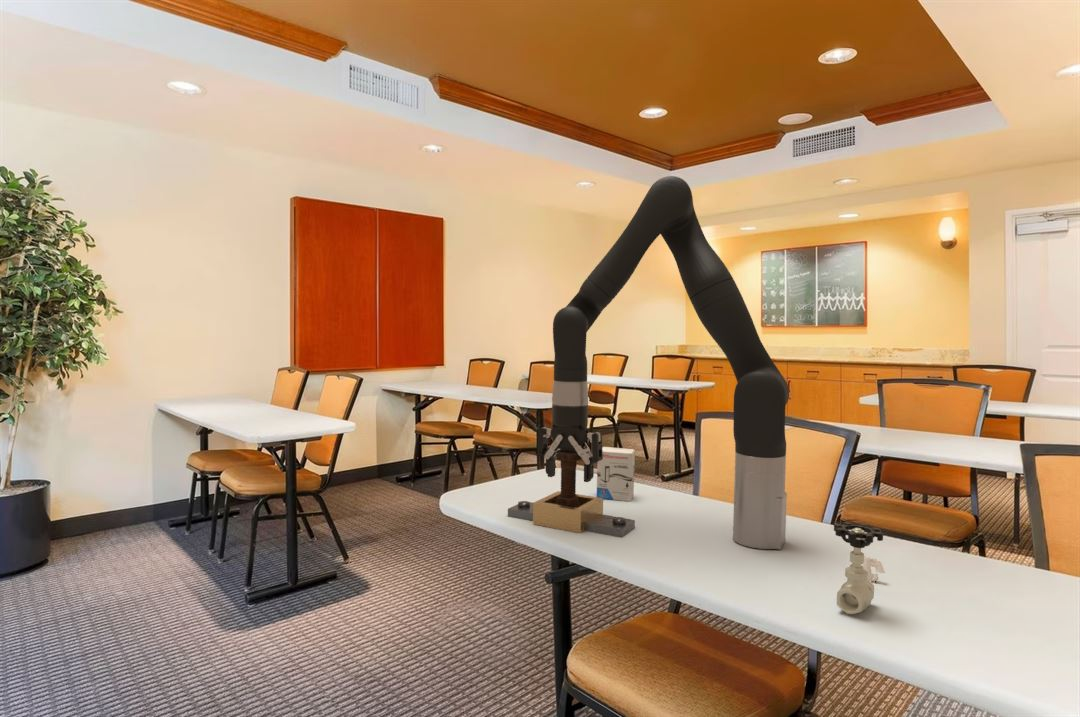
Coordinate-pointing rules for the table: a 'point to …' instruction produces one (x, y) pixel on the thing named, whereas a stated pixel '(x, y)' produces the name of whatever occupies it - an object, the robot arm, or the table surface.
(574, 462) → the bolt
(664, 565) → the table surface
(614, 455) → the ink box
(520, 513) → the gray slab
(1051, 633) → the table surface
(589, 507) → the square wooden frame
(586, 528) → the gray knob plate
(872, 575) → the clip
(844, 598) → the valve
